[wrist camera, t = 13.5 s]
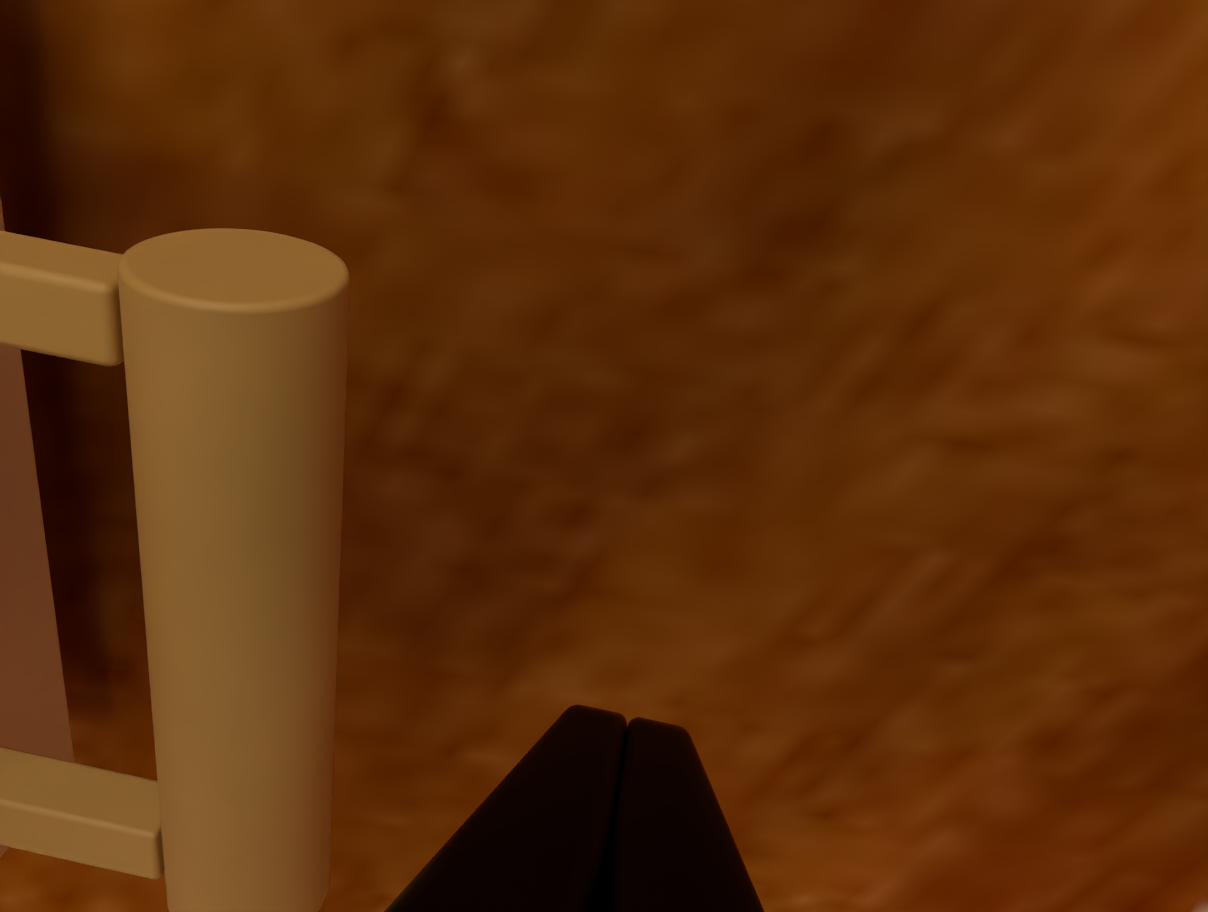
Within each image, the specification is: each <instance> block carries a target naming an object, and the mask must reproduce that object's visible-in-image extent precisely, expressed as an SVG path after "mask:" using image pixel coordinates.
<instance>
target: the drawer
mask: <svg viewBox="0 0 1208 912" xmlns="http://www.w3.org/2000/svg"><path fill="white" fill-rule="evenodd" d="M349 299H350V275H349V271H348V269H347V267H346V265H345V263H344V262H343V260H342V259H340V258H339V257H338V256H337V255H336V254H334V253H333V252H331V251H329V250H328V249H326V248H324V247H322V246H319V245H317V244H314V243H312V242H309V241H306V240H302V239H299V238H295V237H291V236H287V235H283V234H278V233H272V232H266V231H258V230H248V229H231V228H212V229H196V230H187V231H180V232H174V233H169V234H164V235H160V236H156V237H152V238H150V239H147V240H144V241H142V242H140V243H138V244H135V245H134V246H132V247H131V248H129V249H128V250H127V251H126V252H125V253H124V254H118V253H112V252H107V251H102V250H97V249H92V248H87V247H82V246H77V245H72V244H66V243H61V242H56V241H51V240H46V239H41V238H36V237H31V236H26V235H20V234H15V233H10V232H5V226H4V218H3V210H2V203H1V195H0V858H1V856H2V855H3V854H4V853H5V851H6V850H7V849H8V848H9V847H11V848H15V849H20V850H24V851H29V852H33V853H38V854H42V855H47V856H51V857H55V858H60V859H64V860H69V861H73V862H78V863H82V864H87V865H91V866H95V867H100V868H104V869H109V870H113V871H118V872H122V873H127V874H131V875H135V876H140V877H144V878H149V879H153V880H154V879H158V878H159V877H160V876H161V875H162V873H163V872H164V870H165V881H166V894H167V904H168V910H169V912H318V911H319V909H320V908H321V906H322V904H323V902H324V900H325V898H326V895H327V892H328V888H329V882H330V854H331V825H332V796H333V766H334V737H335V708H336V679H337V650H338V621H339V591H340V562H341V533H342V504H343V475H344V445H345V416H346V387H347V358H348V329H349ZM21 349H23V350H28V351H33V352H38V353H43V354H48V355H53V356H58V357H63V358H67V359H72V360H77V361H82V362H87V363H92V364H97V365H102V366H115V365H119V364H121V363H122V362H123V361H124V362H125V375H126V388H127V400H128V413H129V426H130V438H131V451H132V463H133V476H134V489H135V501H136V514H137V527H138V539H139V552H140V565H141V577H142V590H143V603H144V615H145V628H146V641H147V653H148V666H149V679H150V691H151V704H152V717H153V729H154V742H155V755H156V767H157V780H158V781H156V780H152V779H147V778H143V777H138V776H133V775H129V774H124V773H120V772H115V771H111V770H106V769H102V768H97V767H93V766H88V765H84V764H79V763H74V762H75V760H74V753H73V745H72V737H71V730H70V722H69V714H68V707H67V699H66V692H65V684H64V676H63V669H62V661H61V653H60V646H59V638H58V630H57V623H56V615H55V608H54V600H53V592H52V585H51V577H50V569H49V562H48V554H47V546H46V539H45V531H44V523H43V516H42V508H41V501H40V493H39V485H38V478H37V470H36V462H35V455H34V447H33V439H32V432H31V424H30V417H29V409H28V401H27V394H26V386H25V378H24V371H23V363H22V355H21Z"/></svg>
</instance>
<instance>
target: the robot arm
mask: <svg viewBox="0 0 1208 912" xmlns="http://www.w3.org/2000/svg"><path fill="white" fill-rule="evenodd" d="M626 729H627V730H626ZM384 912H764V910H763V908H762V905H761V903H760V901H759V898H758V896H757V893H756V891H755V889H754V886H753V884H752V882H751V879H750V877H749V874H748V872H747V870H746V867H745V865H744V863H743V860H742V858H741V855H740V853H739V851H738V848H737V846H736V843H735V841H734V839H733V836H732V834H731V832H730V829H729V827H728V824H727V822H726V820H725V817H724V815H723V813H722V810H721V808H720V805H719V803H718V801H717V798H716V796H715V793H714V791H713V789H712V786H711V784H710V782H709V779H708V777H707V774H706V772H705V770H704V767H703V765H702V763H701V760H700V758H699V755H698V753H697V751H696V748H695V746H694V743H693V741H692V739H691V737H690V735H689V733H688V732H687V730H685V729H684V728H683V727H681V726H678V725H673V724H669V723H664V722H659V721H654V720H650V719H645V718H640V717H636V718H634V719H632V720H631V721H630V722H629V724H628V726H627V721H626V719H625V717H624V716H623V715H622V714H620V713H617V712H612V711H607V710H602V709H598V708H593V707H588V706H583V705H574V706H571V707H569V708H568V709H567V710H566V711H565V712H564V713H563V714H562V715H561V716H560V717H559V718H558V719H557V720H556V721H555V723H554V724H553V725H552V726H551V727H550V728H549V729H548V730H547V731H546V733H545V734H544V735H543V736H542V737H541V738H540V739H539V740H538V741H537V743H536V744H535V745H534V746H533V747H532V748H531V749H530V750H529V751H528V753H527V754H526V755H525V756H524V757H523V758H522V759H521V760H520V761H519V763H518V764H517V765H516V766H515V767H514V768H513V769H512V770H511V771H510V773H509V774H508V775H507V776H506V777H505V778H504V779H503V780H502V781H501V783H500V784H499V785H498V786H497V787H496V788H495V789H494V790H493V791H492V793H491V794H490V795H489V796H488V797H487V798H486V799H485V800H484V801H483V803H482V804H481V805H480V806H479V807H478V808H477V809H476V810H475V811H474V813H473V814H472V815H471V816H470V817H469V818H468V819H467V820H466V821H465V823H464V824H463V825H462V826H461V827H460V828H459V829H458V830H457V831H456V833H455V834H454V835H453V836H452V837H451V838H450V839H449V840H448V841H447V843H446V844H445V845H444V846H443V847H442V848H441V849H440V850H439V851H438V853H437V854H436V855H435V856H434V857H433V858H432V859H431V860H430V861H429V863H428V864H427V865H426V866H425V867H424V868H423V869H422V870H421V871H420V873H419V874H418V875H417V876H416V877H415V878H414V879H413V880H412V881H411V883H410V884H409V885H408V886H407V887H406V888H405V889H404V890H403V891H402V893H401V894H400V895H399V896H398V897H397V898H396V899H395V900H394V901H393V903H392V904H391V905H390V906H389V907H388V908H387V909H386V910H385V911H384Z"/></svg>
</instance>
